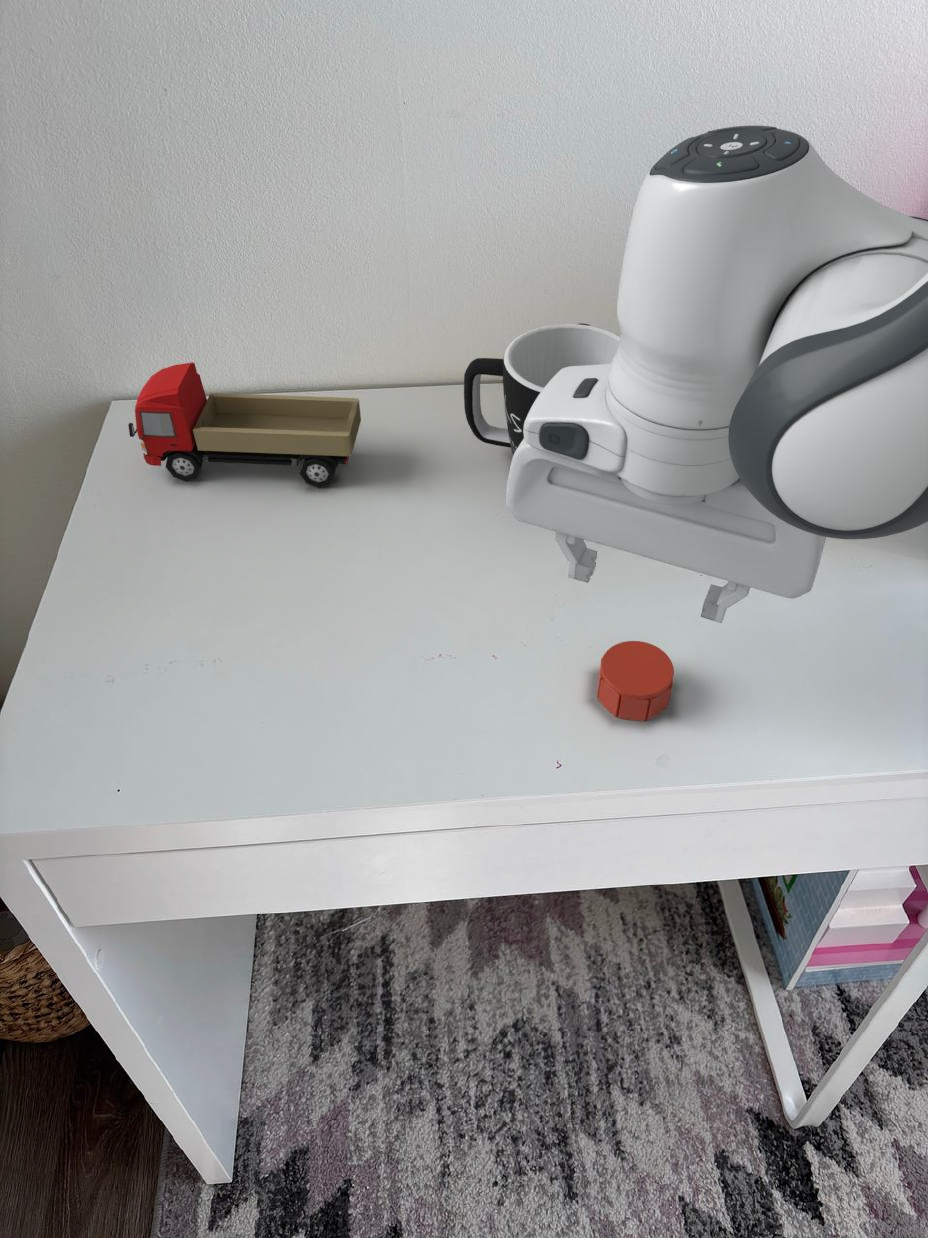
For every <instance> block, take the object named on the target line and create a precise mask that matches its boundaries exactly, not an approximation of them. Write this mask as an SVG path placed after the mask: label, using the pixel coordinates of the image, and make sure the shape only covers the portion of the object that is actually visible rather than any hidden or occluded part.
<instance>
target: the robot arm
mask: <svg viewBox="0 0 928 1238" xmlns="http://www.w3.org/2000/svg"><path fill="white" fill-rule="evenodd" d="M623 253H624V254H623V259H622V266H621V271H620V279H619V285H618V294H617V303H616V317H617V318H616V319H617V323H618V328H619V336H620V342H619V346H618V349H617V352H616V354H615V356H614V358H613V360H612V363H611V364H600V365H584V366H570V367H565V368H563V369H561V370H560V371H559V372H558V373H557V374H556V375H555V376H554V377H553V378H552V379H551V380H550V381H549V382H548V384H547V385H546V386H545V387H544V388H543V390H542V391H541V393H540V394H539V395H538V397H537V398H536V400H535V402H534V403H533V405H532V407H531V409H530V411H529V413H528V415H527V417H526V420H525V422H524V428H523V433H524V439H523V440H522V442H521V443H520V445H519V446H518V448H517V450H516V451H515V453H514V455H513V454H512V457H511V461H510V466H509V470H508V476H507V481H506V488H505V489H506V490H505V506H506V508H507V509H508V511H509V512H510V514H511V515H512V516H513V518H514V519H515V520H517V521H518V522H521V523H525V524H529V525H532V526H535V527H539V528H543V529H546V530H549V531H553V532H555V538H554V539H555V540H554V541H555V542H556V543H557V545H558V546H559V549H560V550H561V551H562V554H563V555H564V557H565V559H566V560H567V561H568V571H567V577H568V578H569V579H573V580H577V581H580V582H582V583H587V584H588V583H589V582H590V581H591V577H592V576H593V575H594V573H595V570H596V567H597V562H596V561H597V559H598V551H597V550H595V549H592V548H588V547H587V544H586V542H585V541H587V542H591V543H595V544H599V545H600V546H601V545H602V546H605V547H609V548H612V549H615V550H619V551H621V552H626V553H628V554H629V553H630V554H632V555H637V556H640V557H643V558H647V559H650V560H654V561H657V562H661V563H664V564H668V565H672V566H674V567H678V568H682V569H685V570H689V571H691V572H692V571H693V572H695V573H699V574H702V575H706V576H710V577H713V578H716V579H719V580H724V581H726V582H727V581H728V582H727V583H726V584H725V585H723V586H719V585H716V584H710V586H709V589H708V591H707V594H706V596H705V599H704V602H703V605H702V610H701V612H700V617H701V618H703V619H706V620H710V621H713V622H716V623H720V624H722V623H723V620H724V618H725V615H726V612H727V610H728V608H730V607H732V606H733V605H735V604H737V603H738V602H740V601H742V600H744V599H745V598H747V597H748V596H749V593H750V589H755V590H758V591H761V592H766V593H768V594H772V595H776V596H778V597H782V598H786V599H793V600H794V599H797V598H800V597H802V596H804V595H806V594H807V593H810V592H811V591H812V589H813V586H814V583H815V580H816V577H817V573H818V572H819V571H818V570H819V567H820V564H821V559H822V555H823V552H824V547H825V544H826V539H827V538H831V539H838V540H839V539H840V540H869V539H877V538H878V539H879V538H884V537H889V536H892V535H893V536H894V535H897V534H901V533H905V532H907V531H910V530H913V529H915V528H918V527H920V526H922V525H924V524H927V523H928V218H927V219H926V218H923V217H919V216H911V215H907V214H904V213H902V212H900V211H898V210H895V209H893V208H891V207H888V205H887V206H886V205H885V204H883V203H881V202H879V201H877V200H875V199H873V198H872V197H870V196H868V195H866V194H865V193H863V192H862V191H860V190H859V189H857V188H856V187H854V186H853V185H851V184H850V183H848V182H847V181H846V180H844V179H843V177H842V178H841V177H840V176H839V175H838V173H836V172H835V171H834V170H832V169H831V168H830V166H828V164H827V163H826V162H825V161H824V160H823V158H822V157H821V155H820V154H819V153H818V151H817V149H815V147H814V146H813V144H812V143H811V142H810V141H809V140H808V139H807V138H805V137H803V136H802V135H801V134H798V133H796V132H793V131H791V130H785V129H782V128H778V127H775V126H769V125H738V126H730V127H722V128H717V129H712V130H709V131H706V132H705V133H701V134H698V135H695V136H691V137H688V138H686V139H684V140H682V141H681V142H679V143H677V144H676V145H675V146H673V147H672V148H670V149H669V150H668V151H666V153H665V154H664V155H663V156H662V157H660V158H659V159H658V160H657V162H655V163H654V165H653V166H652V167H651V168H650V170H648V172H647V173H646V176H645V178H644V180H643V182H642V184H641V186H640V189H639V191H638V194H637V198H636V201H635V204H634V207H633V211H632V214H631V219H630V223H629V228H628V233H627V238H626V243H625V247H624V252H623Z"/></svg>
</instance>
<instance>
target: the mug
mask: <svg viewBox="0 0 928 1238" xmlns="http://www.w3.org/2000/svg"><path fill="white" fill-rule="evenodd" d="M619 342H620V334H616V333H615V332H613V331H610V330H607V329H605V328H601V327H597V326H593V325H591V324H588V323H581V322H580V323H559V324H550V325H545V326H544V325H543V326H541V327H537V328H534V329H531V330H528V331H525V332H524V333H522V334H520V335H518V336H517V337H515V338H514V339H513V340H512V341H511V342H510V343H509V344H508V346H507V347H506V349H505V351H504V353H503V358H494V357H477V358H475V359H473V360H472V361H470V363H469V364H468V365H467V367H466V369H465V372H464V375H463V405H464V414H465V418H466V421H467V425H468V426H469V428H470V430H471V432H472V434H473V435H474V436H475V437H476V439H478V440H479V441H480V442H482V443H485V444H488V445H493V446H499V447H503V448H508V449H509V448H510V449H511V453H512V456H513V455H514V453H515V451H516V450H517V448H518V446H519V445H520V443H521V442H522V440H523V439H524V433H523V428H524V422H525V420H526V417H527V415H528V413H529V411H530V409H531V407H532V405H533V403H534V402H535V400H536V398H537V397H538V395H539V394H540V393H541V391H542V390H543V388H544V387H545V386H546V385H547V384H548V382H549V381H550V380H551V379H552V378H553V377H554V376H555V375H556V374H557V373H558V372H559V371H560V370H561V369H563V368H565V367H570V366H584V365H600V364H611V363H612V360H613V358H614V356H615V354H616V352H617V349H618V346H619ZM482 375H483V376H484V375H485V376H493V377H501V378H502V388H503V389H502V390H503V403H504V413H505V419H506V426H507V428H504V427H498V426H494V425H490V424H489V423H488V422H487V421H486V419H485V417H484V414H483V412H482V405H481V376H482Z"/></svg>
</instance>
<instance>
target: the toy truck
mask: <svg viewBox="0 0 928 1238" xmlns="http://www.w3.org/2000/svg"><path fill="white" fill-rule="evenodd" d="M361 416H362V415H361V405H360V400H359V398H357V397H335V396H314V395H313V396H309V395H281V394H256V393H225V392H210V393H209V395H208V397H207V395H206V392H205V388H204V385H203V382H202V378H201V374H200V373H198V371H197V367H196V363H195V362H193V361H191V362H186V363H179V364H174V365H171V366H168V367H164V368H161V369H160V370H158V371H156V373H154V374H152V375H150V377H149V379H148V380H147V381H146V383H145V384H144V385H143V386H142V388H141V390H140V392H139V394H138V396H137V399H136V403H135V406H134V417H135V426H136V428H135V426H134V423H133V422H129V423H128V433H129V437H132V438H134V436H136V434H137V436H138V441H139V445H140V446H141V447H140V448H141V450H142V455H143V459H144V461H145V463H146V464H147V465H149V466H153V467H155V466H157V467H162V462H165V461H166V462H165V468H166V470H167V471H168V473H170V475H171V477H172V478H175V479H178V480H181V481H184V482H189V481H192V480H196V479H198V478H199V475H200V473H201V471H202V467H203V463H204V456H205V457H206V460H207V463H214V464H215V463H216V464H217V463H218V464H239V465H240V464H244V465H264V466H265V465H267V466H268V465H269V466H291V465H292V464H293V460H296V461H295V462H296V463H295V464H296V467H299V465H300V463H301V461H303V462H302V465H301V467H300V470H299V475H300V477H301V478H302V479H303V481H304V482H305V484H306V485H310V486H311V487H312V486H313V487H315V488H318V489H320V488H324V487H327V486H331V485H332V482H333V479H334V478H335V474H336V471H337V468H338V466H339V465H348V463H349V462H348V461H349V458H350V457H351V456H353V452H354V448H355V444H356V440H357V437H358V432H359V430H360V429H359V428H360V427H361V426H360V425H361V422H362V417H361Z"/></svg>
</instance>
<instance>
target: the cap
mask: <svg viewBox="0 0 928 1238" xmlns="http://www.w3.org/2000/svg"><path fill="white" fill-rule="evenodd" d="M674 675H675V668H674V664H673V662H672V660H671V658H670V657H669V655H668V654H667V653H666V652H665V651H664V650H663V649H661V648H660V647H658V646H656V645H654V644H652V643H649V642H646V641H641V640H627V641H622V642H618V643H616V644H614V645H612V646H611V647H610V648H609V649H607V650H606V651H605V652H604V654H603V655H602V657H601V659H600V666H599V673H598V680H597V681H598V682H597V693H596V698H597V699H598V700H597V701H598V702H599V703H600V704H601V705H602V706H603V707H604V708H605V709H606V710H607V711H608V712H610V714H612V715H613V716H614V717H615V718H616V717H617V718H618V719H622V720H631V721H637V722H638V721H639V722H646V721H650V720H651V719H653V718H655V717H656V716H657V715H659V714H660V713H663V712H664V711H665V710H667V708H668V706H669V704H670V700H671V695H672V691H673V686H674Z"/></svg>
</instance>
